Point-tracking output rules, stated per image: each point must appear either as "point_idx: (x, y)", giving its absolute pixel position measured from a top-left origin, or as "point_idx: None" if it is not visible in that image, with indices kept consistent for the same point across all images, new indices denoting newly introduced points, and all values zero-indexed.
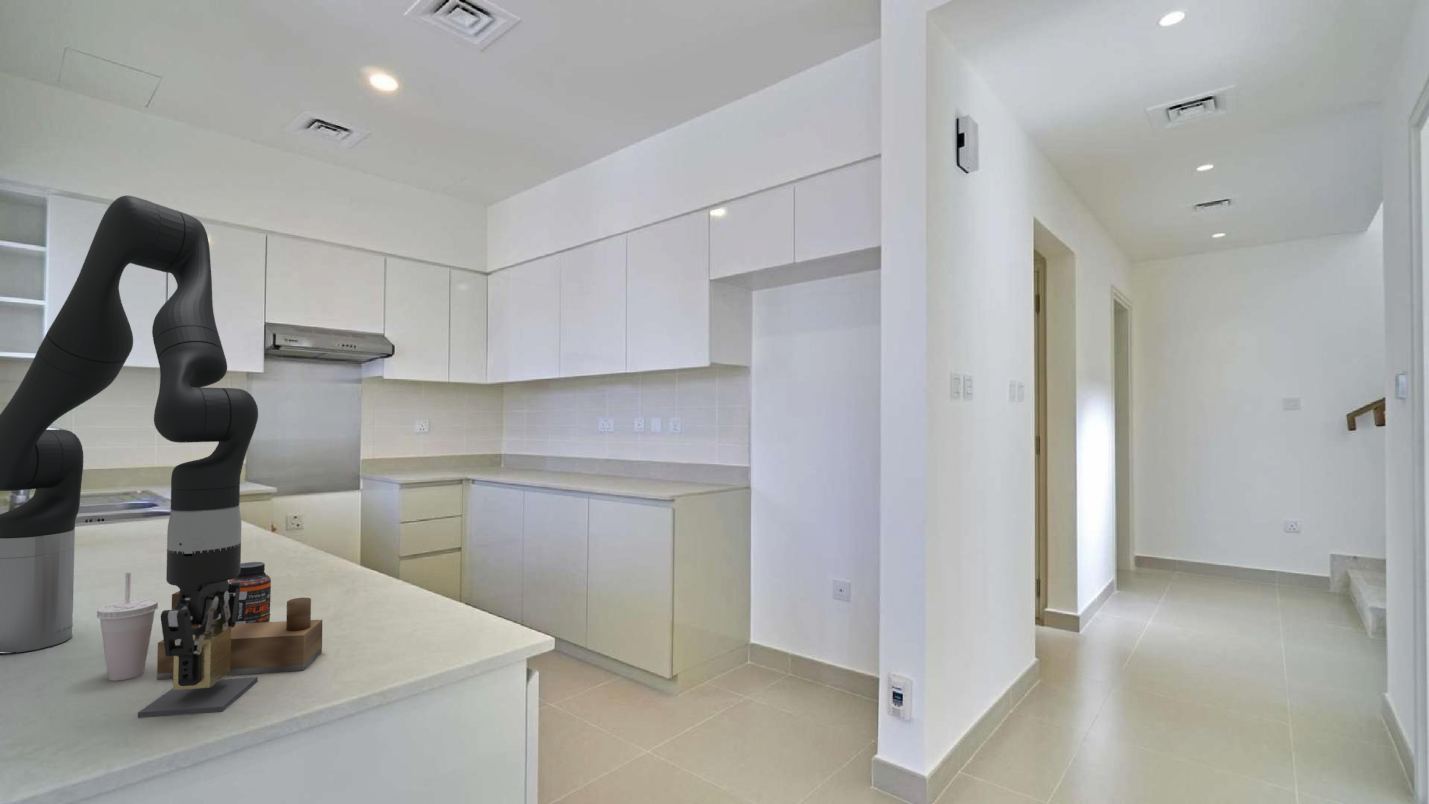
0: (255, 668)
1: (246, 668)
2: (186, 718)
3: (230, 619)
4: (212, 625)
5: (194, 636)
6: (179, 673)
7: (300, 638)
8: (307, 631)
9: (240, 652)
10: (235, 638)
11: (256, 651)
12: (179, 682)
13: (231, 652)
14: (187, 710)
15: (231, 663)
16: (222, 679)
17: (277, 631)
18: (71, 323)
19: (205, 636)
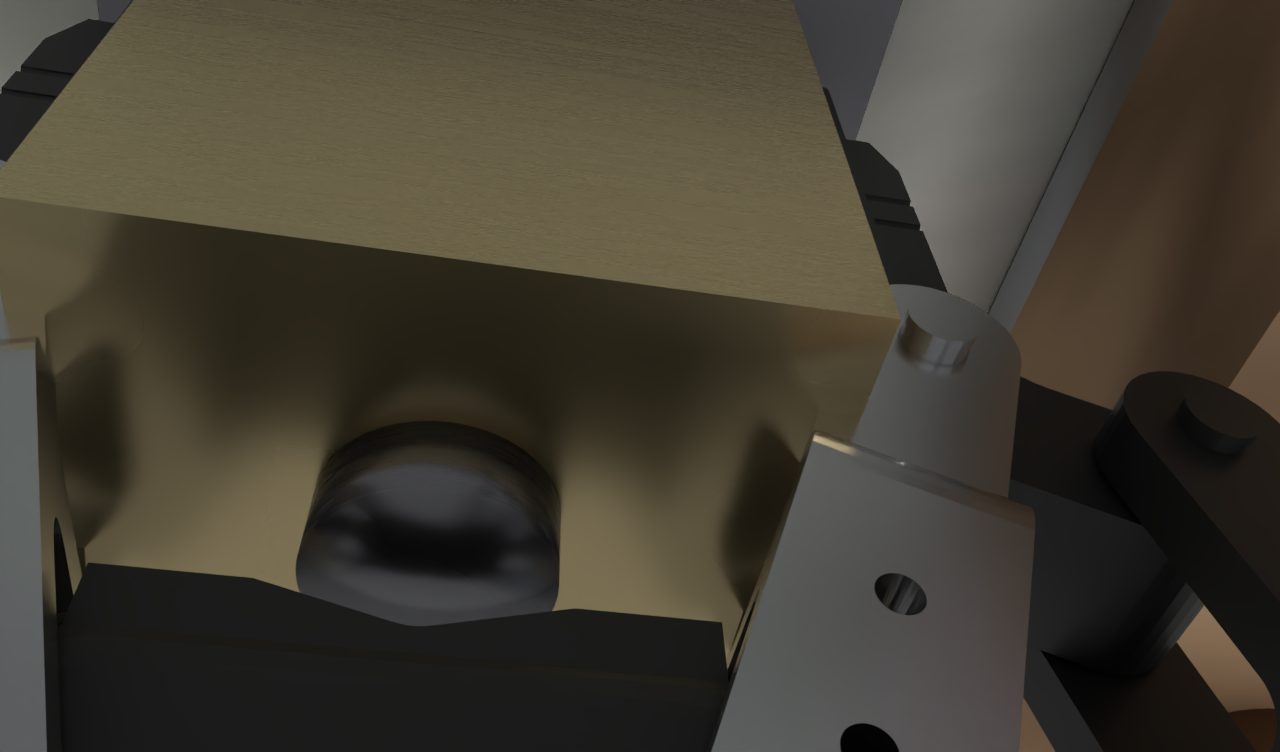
0: (1016, 317)
1: (1044, 256)
2: (18, 22)
3: (1041, 699)
4: (1111, 435)
5: (286, 432)
6: (5, 88)
7: None
8: None
9: (1136, 309)
10: (1253, 371)
11: None
12: (84, 22)
13: (1188, 229)
14: (99, 16)
15: (1127, 165)
16: (859, 110)
17: (1227, 664)
18: None
19: (243, 575)
